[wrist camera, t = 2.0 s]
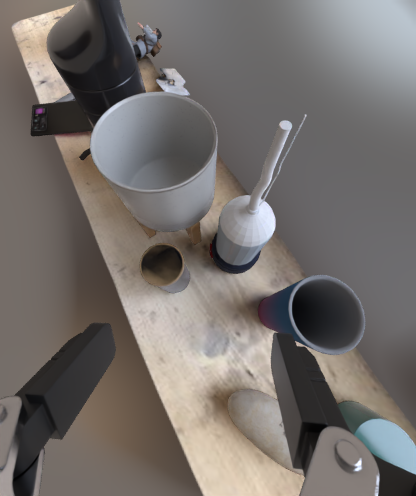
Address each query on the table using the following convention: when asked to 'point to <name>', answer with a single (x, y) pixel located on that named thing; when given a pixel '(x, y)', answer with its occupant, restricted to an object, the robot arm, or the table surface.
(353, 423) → the squat tin
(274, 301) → the cup
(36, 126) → the smartphone
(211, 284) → the table surface
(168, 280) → the tall tin
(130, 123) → the planter
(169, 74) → the diorama
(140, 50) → the action figure
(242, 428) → the stone
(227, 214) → the white tall piece
